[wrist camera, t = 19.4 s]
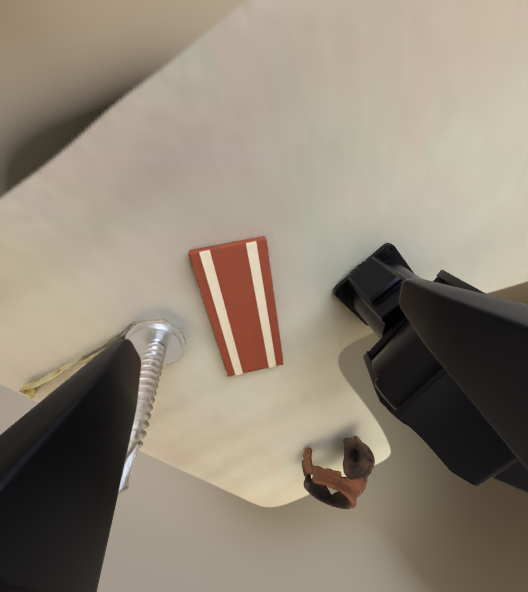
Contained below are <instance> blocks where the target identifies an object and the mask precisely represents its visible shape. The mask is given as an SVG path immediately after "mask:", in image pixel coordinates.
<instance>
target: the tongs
mask: <svg viewBox="0 0 528 592" xmlns="http://www.w3.org/2000/svg"><path fill="white" fill-rule="evenodd" d="M133 326H135V322H133V323H132V324H131V325H130V326H129V327H128V328H127V329H126V330H125V331H123V332H122V333H120V334H119V335H117V336H116V337H115V338H113V339H111V340H110V341H109V342H107V343H106V344H104V345H103V346H101V347H99V348H97V349H96V350H94V351H92V352H90V353H88V354H86V355H83V356H82V357H80V358H79V359H77V360H75V361H73V362H71V363H69V364H66V365H63V366H61V367H60V368H58V369H57V370H55V371H53V372H51V373H49V374H47V375H46V376H44V377H42V378H40V379H38V380H36V381H34V382H32V383H29V384H26V385H24V386H23V388H21V389H20V390H19V392H22V393H24V394H28V395H29V396H30V397H31V399H32V398H33V395H34V393H35V392H36V389H34V388H36V387H38V386H40V385H41V384H43V383H45V382H47V381H50V380H52V379H53V378H55V377H57V376H58V375H59V374H61V373H62V372H64V371H66V370H68V369H70V368H72V367H75V366H77V365H79V364H81V363H83V362H86V361H88V360H90V359H91V358H93V357H95V356H96V355H97V354H99V353H100V352H102V351H103V350H104V349H105V348H107V347H108V346H109V345H110V344H111V343H113V342H114V341H117V340H122V339H125V337H126V335H127V333H128V331H129V330H130V329H131V328H132V327H133Z"/></svg>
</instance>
